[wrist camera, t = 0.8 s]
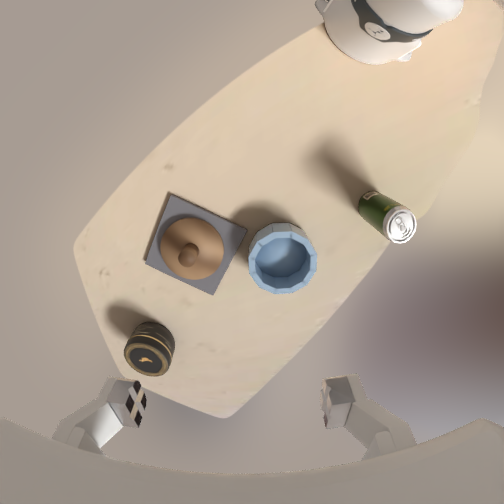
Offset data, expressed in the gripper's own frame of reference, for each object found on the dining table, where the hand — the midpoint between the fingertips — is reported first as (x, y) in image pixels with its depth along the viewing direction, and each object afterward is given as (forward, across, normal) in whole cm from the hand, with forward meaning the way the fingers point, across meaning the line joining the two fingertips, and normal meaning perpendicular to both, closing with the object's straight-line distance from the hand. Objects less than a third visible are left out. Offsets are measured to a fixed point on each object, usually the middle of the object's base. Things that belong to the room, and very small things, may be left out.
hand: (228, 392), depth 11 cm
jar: (+39, +22, +28) cm, 52 cm away
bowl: (+38, -6, +9) cm, 39 cm away
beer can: (+38, -22, +1) cm, 44 cm away
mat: (+38, +10, +7) cm, 40 cm away
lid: (+37, +10, +7) cm, 39 cm away
